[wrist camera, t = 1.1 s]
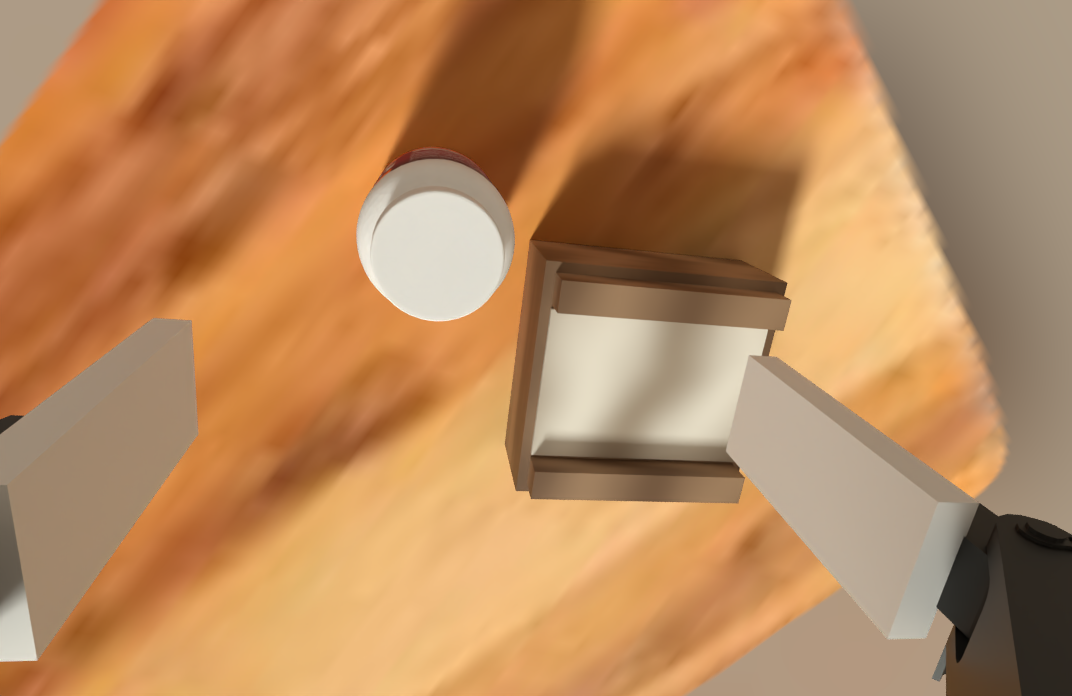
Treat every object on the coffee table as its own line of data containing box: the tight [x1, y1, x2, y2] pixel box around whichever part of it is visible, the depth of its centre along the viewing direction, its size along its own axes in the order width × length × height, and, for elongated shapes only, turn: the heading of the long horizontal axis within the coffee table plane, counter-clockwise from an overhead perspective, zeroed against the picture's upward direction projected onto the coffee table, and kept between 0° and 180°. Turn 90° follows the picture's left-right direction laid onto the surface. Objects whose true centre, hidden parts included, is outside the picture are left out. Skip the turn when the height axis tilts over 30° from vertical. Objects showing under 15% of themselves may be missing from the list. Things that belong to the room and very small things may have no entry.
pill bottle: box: [357, 147, 515, 321], centre depth 28 cm, size 6×6×11 cm
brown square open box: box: [505, 240, 791, 503], centre depth 34 cm, size 12×12×6 cm
